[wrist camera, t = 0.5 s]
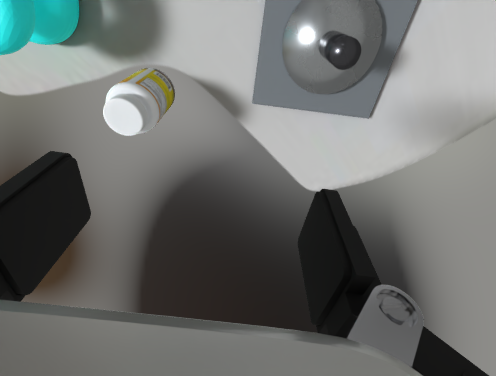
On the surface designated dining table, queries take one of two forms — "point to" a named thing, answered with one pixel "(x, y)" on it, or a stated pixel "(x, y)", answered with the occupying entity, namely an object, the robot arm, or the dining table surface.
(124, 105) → the supplement bottle
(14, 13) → the donuts
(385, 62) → the mat
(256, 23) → the dining table surface
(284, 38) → the lid
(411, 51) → the dining table surface
